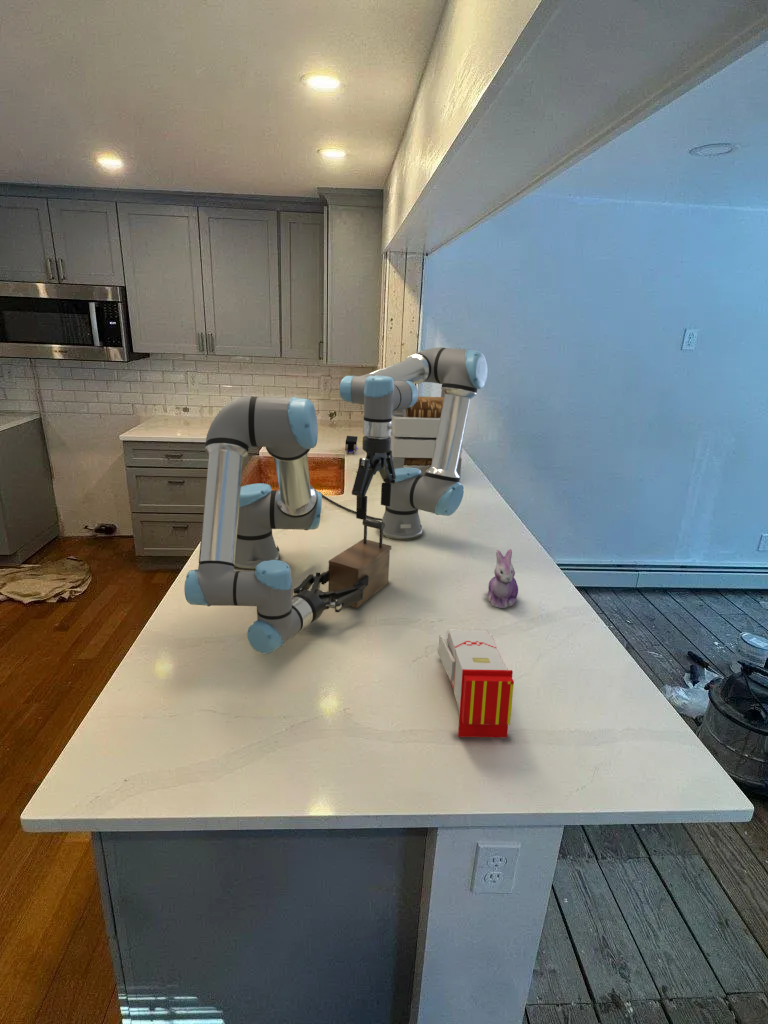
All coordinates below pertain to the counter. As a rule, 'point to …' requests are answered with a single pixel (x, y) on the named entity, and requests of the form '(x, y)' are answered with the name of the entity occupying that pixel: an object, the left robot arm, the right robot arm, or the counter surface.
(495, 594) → the figurine
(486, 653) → the toy
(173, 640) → the counter surface
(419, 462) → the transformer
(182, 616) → the counter surface
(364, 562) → the brown handled panel
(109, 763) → the counter surface
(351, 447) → the figurine character
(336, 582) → the chest
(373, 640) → the counter surface
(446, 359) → the right robot arm
